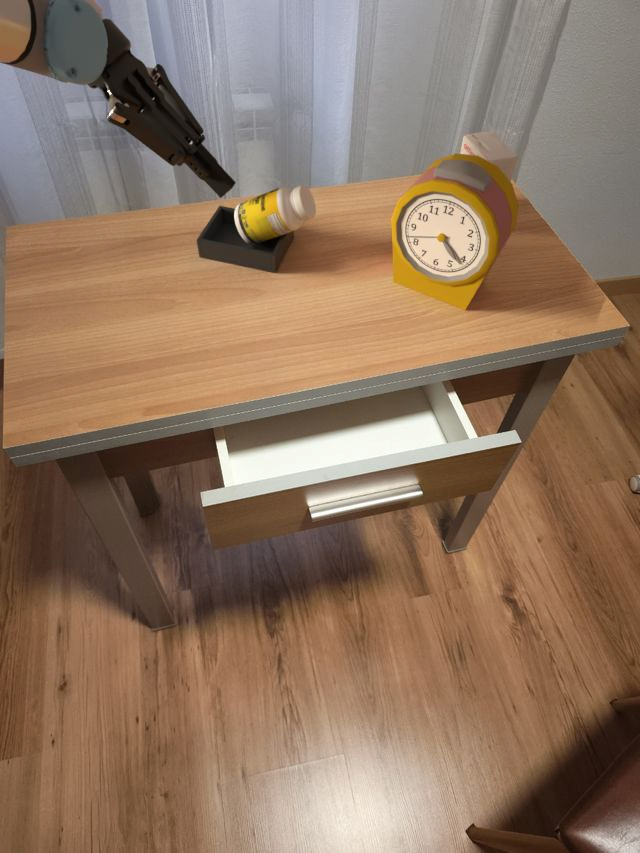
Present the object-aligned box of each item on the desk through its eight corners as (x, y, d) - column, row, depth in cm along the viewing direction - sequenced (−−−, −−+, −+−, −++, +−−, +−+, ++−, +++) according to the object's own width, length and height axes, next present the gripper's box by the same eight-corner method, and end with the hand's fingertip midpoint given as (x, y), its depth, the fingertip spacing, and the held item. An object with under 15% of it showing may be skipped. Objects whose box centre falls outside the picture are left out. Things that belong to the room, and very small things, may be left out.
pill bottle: (239, 196, 85) (302, 170, 80) (260, 230, 89) (322, 208, 84) (227, 218, 82) (293, 193, 77) (250, 253, 86) (314, 231, 81)
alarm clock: (380, 280, 84) (398, 160, 69) (404, 251, 88) (425, 132, 73) (474, 317, 80) (515, 199, 65) (494, 285, 84) (536, 166, 69)
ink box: (498, 226, 93) (521, 156, 83) (471, 232, 92) (491, 162, 82) (472, 197, 97) (491, 128, 88) (446, 203, 96) (462, 133, 87)
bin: (199, 257, 86) (196, 239, 83) (221, 222, 91) (219, 205, 89) (275, 273, 84) (275, 256, 82) (294, 237, 89) (294, 219, 87)
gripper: (99, 40, 76) (229, 180, 87) (45, 82, 68) (195, 229, 79) (126, -2, 70) (260, 152, 82) (70, 38, 63) (226, 202, 74)
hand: (228, 190), depth 80 cm, fingers closed
